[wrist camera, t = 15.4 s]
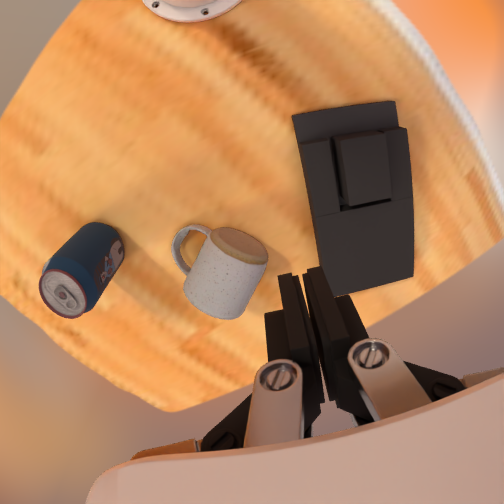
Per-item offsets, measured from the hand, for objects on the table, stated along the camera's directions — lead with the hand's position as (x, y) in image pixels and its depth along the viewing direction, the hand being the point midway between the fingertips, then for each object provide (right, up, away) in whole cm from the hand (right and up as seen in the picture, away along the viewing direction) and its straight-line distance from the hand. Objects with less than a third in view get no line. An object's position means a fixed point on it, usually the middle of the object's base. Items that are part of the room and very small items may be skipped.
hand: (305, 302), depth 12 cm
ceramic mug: (-6, +2, +27) cm, 28 cm away
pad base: (+11, +8, +24) cm, 28 cm away
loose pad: (+10, +12, +22) cm, 26 cm away
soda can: (-21, +3, +26) cm, 34 cm away
